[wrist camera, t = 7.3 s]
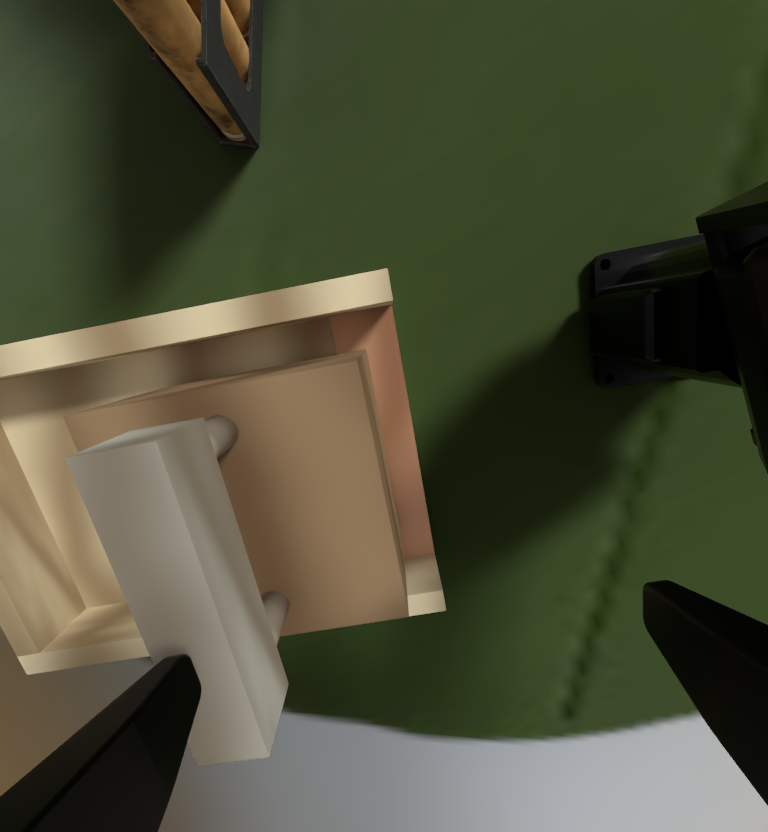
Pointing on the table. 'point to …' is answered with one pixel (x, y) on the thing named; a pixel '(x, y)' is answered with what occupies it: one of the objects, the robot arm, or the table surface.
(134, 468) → the panel with bar handle
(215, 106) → the ammunition clip
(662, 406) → the table surface
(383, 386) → the bay
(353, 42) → the table surface
